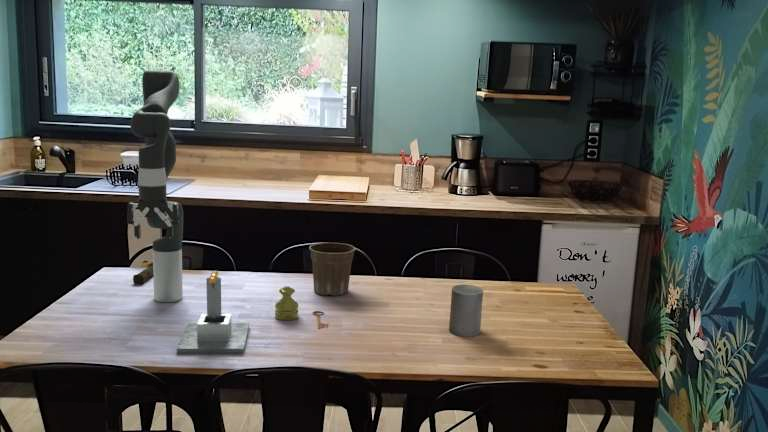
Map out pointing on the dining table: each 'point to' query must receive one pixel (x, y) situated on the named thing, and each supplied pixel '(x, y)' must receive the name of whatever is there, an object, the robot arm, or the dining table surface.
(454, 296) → the pillar candle
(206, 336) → the candle holder
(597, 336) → the dining table surface
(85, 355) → the dining table surface
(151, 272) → the hand tool
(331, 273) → the plant pot
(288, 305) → the green scale weight
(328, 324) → the key
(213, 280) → the silver grey upright block
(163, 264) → the robot arm
